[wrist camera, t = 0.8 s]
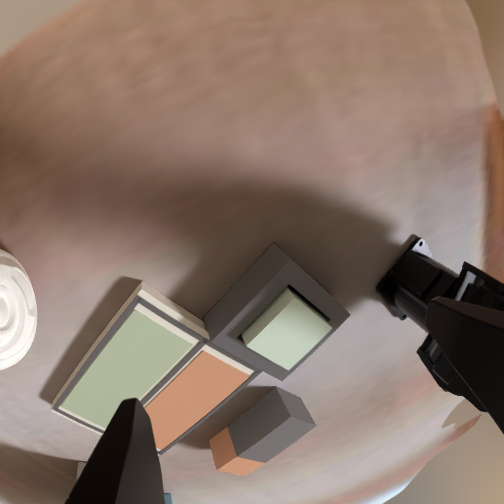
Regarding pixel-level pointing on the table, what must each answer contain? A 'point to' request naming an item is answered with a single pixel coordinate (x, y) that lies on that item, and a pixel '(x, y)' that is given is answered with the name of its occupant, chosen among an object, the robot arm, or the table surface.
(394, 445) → the table surface
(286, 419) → the orange-tipped gray block
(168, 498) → the gum box
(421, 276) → the robot arm
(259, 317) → the button
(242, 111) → the table surface
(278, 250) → the button housing
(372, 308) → the table surface
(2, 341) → the white steamed bun
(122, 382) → the picture board
